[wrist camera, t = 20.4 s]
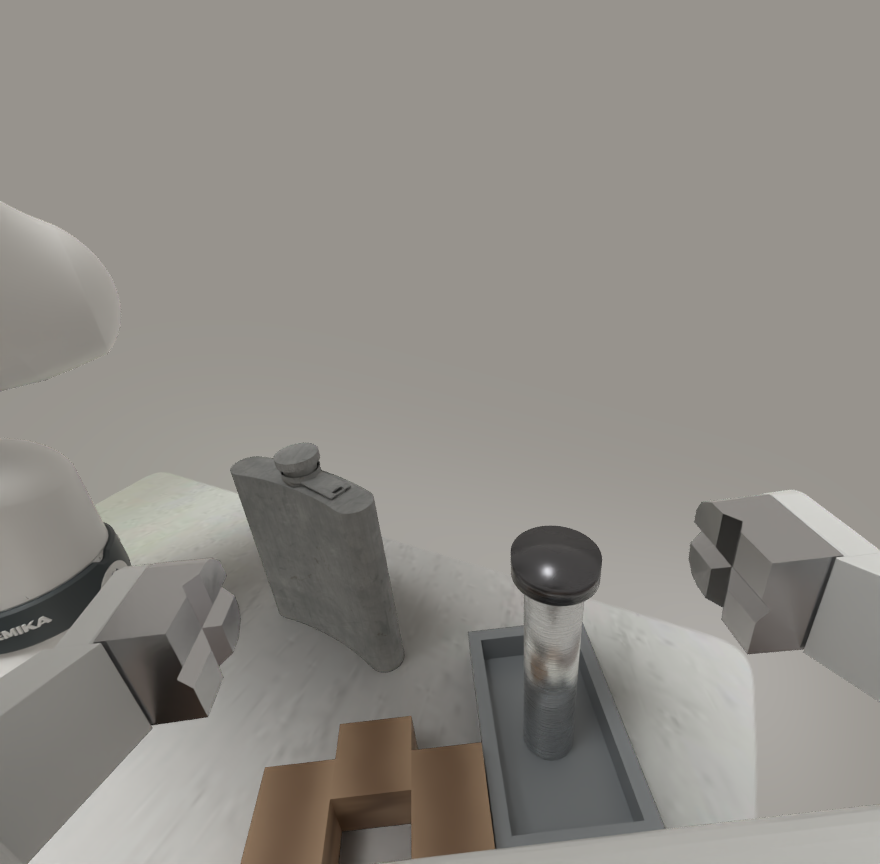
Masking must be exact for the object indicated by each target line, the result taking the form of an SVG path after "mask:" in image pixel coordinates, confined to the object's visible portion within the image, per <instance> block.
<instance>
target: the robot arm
mask: <svg viewBox="0 0 880 864" xmlns="http://www.w3.org/2000/svg"><path fill="white" fill-rule="evenodd" d="M120 323H121V306H120V300H119V296H118V292H117V289H116V286H115V284H114V282H113V280H112V278H111V276H110V275H109V273H108V271H107V269H106V268H105V267H104V265H103V264H102V263H101V261H100V260H99V259H98V258H97V257H96V256H95V255H94V254H93V252H91V251H90V250H89V249H88V248H87V247H86V246H85V245H84V244H83V243H81V242H80V241H79V240H78V239H76V238H75V237H74V236H72V235H70V234H69V233H67V232H66V231H64V230H62V229H61V228H59V227H57V226H55V225H53V224H50V223H48V222H45V221H42V220H39V219H37V218H34V217H32V216H30V215H27V214H25V213H23V212H21V211H19V210H17V209H15V208H13V207H11V206H9V205H7V204H5V203H3V202H2V201H0V391H4V390H8V389H12V388H16V387H20V386H24V385H28V384H32V383H37V382H41V381H46V380H48V379H50V378H52V377H55V376H57V375H60V374H62V373H65V372H67V371H70V370H72V369H74V368H77V367H79V366H81V365H84V364H86V363H88V362H90V361H92V360H95V359H97V358H99V357H101V356H104V355H106V354H108V353H109V351H110V350H111V348H112V347H113V345H114V343H115V341H116V339H117V335H118V333H119V329H120ZM694 522H695V523H696V525H697V526H698V527H699V528H700V530H701V532H700V533H699V534H698V535H697V537H696V538H695V539H694V540H693V541H692V542H691V544H690V552H689V562H690V567H691V573H692V576H693V578H694V580H695V582H696V585H697V586H698V588H699V589H700V591H701V592H702V594H703V595H704V596H705V598H707V599H708V600H710V601H712V602H714V603H716V604H717V605H719V606H721V607H723V610H722V621H723V622H724V624H725V625H726V626H727V627H728V629H729V630H730V632H731V633H732V635H733V636H734V637H735V638H736V640H737V641H738V642H739V644H740V645H741V647H742V648H743V649H744V651H745V652H746V653H747V654H756V653H768V652H779V651H790V650H801V649H804V651H803V652H804V653H805V654H807V655H808V656H810V657H811V658H813V659H814V660H816V661H817V662H819V663H820V664H822V665H823V666H825V667H826V668H828V669H829V670H831V671H833V672H834V673H836V674H837V675H839V676H840V677H842V678H843V679H845V680H846V681H848V682H849V683H851V684H852V685H854V686H855V687H857V688H858V689H860V690H861V691H863V692H864V693H866V694H868V695H869V696H871V697H872V698H874V699H875V700H877V701H878V702H880V550H879V549H878V548H876V547H875V546H874V545H872V544H871V543H870V542H868V541H867V540H866V539H864V538H863V537H862V536H860V535H859V534H858V533H856V532H855V531H854V530H852V529H851V528H849V527H848V526H847V525H846V524H844V523H843V522H842V521H840V520H839V519H838V518H836V517H835V516H834V515H832V514H831V513H830V512H828V511H827V510H826V509H824V508H823V507H822V506H820V505H819V504H818V503H816V502H815V501H814V500H812V499H811V498H810V497H808V496H807V495H806V494H804V493H802V492H799V491H796V490H786V491H778V492H771V493H765V494H761V495H755V496H747V497H738V498H730V499H722V500H713V501H705V502H701V504H700V505H699V507H698V508H697V510H696V515H695V521H694ZM226 576H227V575H226V573H225V571H224V568H223V566H222V564H221V562H220V561H219V560H217V559H214V558H205V559H194V560H184V561H173V562H162V563H154V564H144V565H135V566H131V563H130V560H129V557H128V555H127V553H126V551H125V549H124V547H123V545H122V544H121V542H120V539H119V537H118V535H117V534H116V533H115V531H114V530H113V528H112V527H111V526H110V525H109V524H107V523H105V522H103V521H102V519H101V517H100V515H99V513H98V511H97V509H96V507H95V505H94V503H93V501H92V499H91V498H90V495H89V493H88V491H87V489H86V488H85V486H84V484H83V482H82V480H81V478H80V476H79V474H78V472H77V470H76V468H75V466H74V464H73V463H72V462H71V461H70V460H69V459H68V458H67V457H66V456H64V455H63V454H62V453H60V452H59V451H57V450H55V449H53V448H51V447H48V446H46V445H43V444H40V443H36V442H32V441H28V440H21V439H11V438H0V864H28V863H29V861H30V860H31V859H32V858H33V857H34V856H35V855H36V854H37V853H38V852H39V851H40V850H41V848H42V847H43V846H44V845H45V844H46V843H47V842H48V841H49V840H50V839H51V838H52V837H53V835H54V834H55V833H56V832H57V831H58V830H59V829H60V828H61V827H62V826H63V825H64V824H65V822H66V821H67V820H68V819H69V818H70V817H71V816H72V815H73V814H74V813H75V812H76V811H77V810H78V808H79V807H80V806H81V805H82V804H83V803H84V802H85V801H86V800H87V799H88V798H89V797H90V795H91V794H92V793H93V792H94V791H95V790H96V789H97V788H98V787H99V786H100V785H101V784H102V782H103V781H104V780H105V779H106V778H107V777H108V776H109V775H110V774H111V773H112V772H113V771H114V769H115V768H116V767H117V766H118V765H119V764H120V763H121V762H122V761H123V760H124V759H125V758H126V757H127V755H128V754H129V753H130V752H131V751H132V750H133V749H134V748H135V747H136V746H137V745H138V744H139V742H140V741H141V740H142V739H143V738H144V737H145V736H146V735H147V734H148V733H149V732H150V731H151V729H152V726H151V725H158V724H165V723H172V722H178V721H185V720H192V719H199V718H206V717H208V716H209V713H210V711H211V708H212V706H213V703H214V701H215V698H216V696H217V693H218V690H219V688H220V685H221V683H222V680H223V678H224V677H223V675H222V672H221V670H220V668H219V666H220V665H221V664H222V663H223V662H224V661H225V660H226V659H227V658H228V657H229V656H230V655H231V654H232V653H233V652H234V649H235V646H236V644H237V641H238V638H239V630H240V621H241V618H240V612H239V606H238V603H237V600H236V598H235V595H233V594H232V593H230V592H229V591H227V590H226V589H225V588H223V587H222V585H223V583H224V581H225V579H226ZM374 864H880V804H875V805H866V806H858V807H849V808H841V809H832V810H824V811H815V812H807V813H798V814H790V815H781V816H773V817H764V818H755V819H747V820H738V821H730V822H721V823H713V824H704V825H696V826H687V827H679V828H670V829H662V830H653V831H645V832H636V833H628V834H619V835H611V836H602V837H593V838H585V839H576V840H568V841H559V842H551V843H543V844H534V845H526V846H517V847H509V848H500V849H492V850H483V851H475V852H467V853H458V854H450V855H441V856H433V857H424V858H416V859H408V860H399V861H391V862H382V863H374Z"/></svg>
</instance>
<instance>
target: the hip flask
mask: <svg viewBox="0 0 880 864" xmlns="http://www.w3.org/2000/svg"><path fill="white" fill-rule="evenodd" d="M319 459H320V454H319V450H318V447H317V446H316V445H314V444H312V443H298V444H294V445H290V446H287V447H285V448H283V449H281V450H279V451H278V452H277V453H276V454H275V456H274V458H267V457H259V456H256V457H250V458H246V459H243V460H240V461H238V462H237V463H235V464H234V465H233V466H232V467H231V469H230V471H231V474H232V477H233V480H234V482H235V486H236V488H237V491H238V494H239V497H240V500H241V503H242V506H243V509H244V512H245V514H246V517H247V520H248V523H249V526H250V529H251V532H252V535H253V538H254V540H255V543H256V546H257V549H258V552H259V555H260V558H261V561H262V563H263V566H264V569H265V572H266V575H267V578H268V581H269V584H270V586H271V589H272V592H273V595H274V598H275V601H276V604H277V607H278V610H279V612H280V614H281V616H283V617H285V618H289V619H292V620H296V621H299V622H301V623H304V624H307V625H309V626H311V627H314V628H316V629H318V630H320V631H322V632H324V633H326V634H327V635H329V636H331V637H333V638H334V639H336V640H338V641H340V642H341V643H343V644H344V645H346V646H347V647H349V648H350V649H351V650H353V651H354V652H355V653H357V654H358V655H359V656H360V657H362V658H363V659H364V660H365V661H366V662H367V663H368V664H369V665H370V666H371V667H372V668H373V669H375V670H376V671H378V672H390V671H393V670H395V669H396V668H397V667H399V666H400V664H401V663H402V661H403V659H404V650H403V645H402V640H401V635H400V630H399V625H398V620H397V614H396V609H395V604H394V599H393V594H392V589H391V584H390V578H389V573H388V568H387V563H386V558H385V553H384V548H383V542H382V537H381V532H380V527H379V522H378V517H377V512H376V507H375V501H374V497H373V494H372V493H371V492H369V491H367V490H366V489H364V488H362V487H360V486H358V485H356V484H354V483H352V482H350V481H348V480H346V479H343V478H341V477H339V476H336V475H334V474H330V473H328V472H325V471H322V470H321V467H320V462H319Z"/></svg>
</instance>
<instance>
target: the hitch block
mask: <svg viewBox="0 0 880 864" xmlns="http://www.w3.org/2000/svg"><path fill="white" fill-rule="evenodd" d="M410 823H411V859H416V858H424V857H433V856H441V855H450V854H458V853H467V852H475V851H483V850H492V849H495V844H494V837H493V829H492V821H491V813H490V806H489V798H488V790H487V782H486V775H485V767H484V759H483V751H482V744H481V742H479V743H470V744H462V745H453V746H444V747H436V748H427V749H419V750H418V747H417V742H416V737H415V732H414V727H413V722H412V717H411V716H406V717H398V718H389V719H380V720H372V721H363V722H355V723H346V724H340V728H339V735H338V743H337V750H336V758H335V759H333V760H324V761H316V762H307V763H299V764H290V765H282V766H273V767H265V770H264V774H263V777H262V781H261V785H260V789H259V793H258V797H257V801H256V805H255V809H254V813H253V817H252V821H251V825H250V829H249V833H248V836H247V840H246V844H245V848H244V852H243V856H242V860H241V864H339V854H340V845H341V836H342V831H351V830H359V829H368V828H376V827H385V826H393V825H402V824H410Z"/></svg>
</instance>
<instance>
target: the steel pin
mask: <svg viewBox="0 0 880 864" xmlns="http://www.w3.org/2000/svg"><path fill="white" fill-rule="evenodd" d="M601 566H602V556H601V552H600V550H599V548H598V546H597V545H596V544H595V543H594V542H593V541H592V540H591V539H590V538H589V537H587V536H586V535H584V534H582V533H580V532H578V531H576V530H573V529H570V528H566V527H561V526H541V527H536V528H533V529H530V530H528V531H525V532H523V533H522V534H520V535H519V536H518V537H517V538H516V539H515V541H514V542H513V544H512V547H511V576H512V579H513V582H514V583H515V585H516V586H517V588H518V589H519V590H520V591H521V592H522V593H523V594H524V694H523V736H524V740H525V743H526V745H527V747H528V748H529V749H530V751H531V752H532V753H534V754H535V755H536V756H538V757H540V758H542V759H545V760H551V761H552V760H558V759H561V758H563V757H564V756H566V755H567V754H568V752H569V751H570V749H571V746H572V740H573V728H574V716H575V703H576V691H577V679H578V667H579V655H580V642H581V630H582V618H583V606H584V601H586V600H588V599H589V598H590V597H592V596H593V595H594V594H595V592H596V591H597V589H598V587H599V584H600V575H601Z"/></svg>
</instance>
